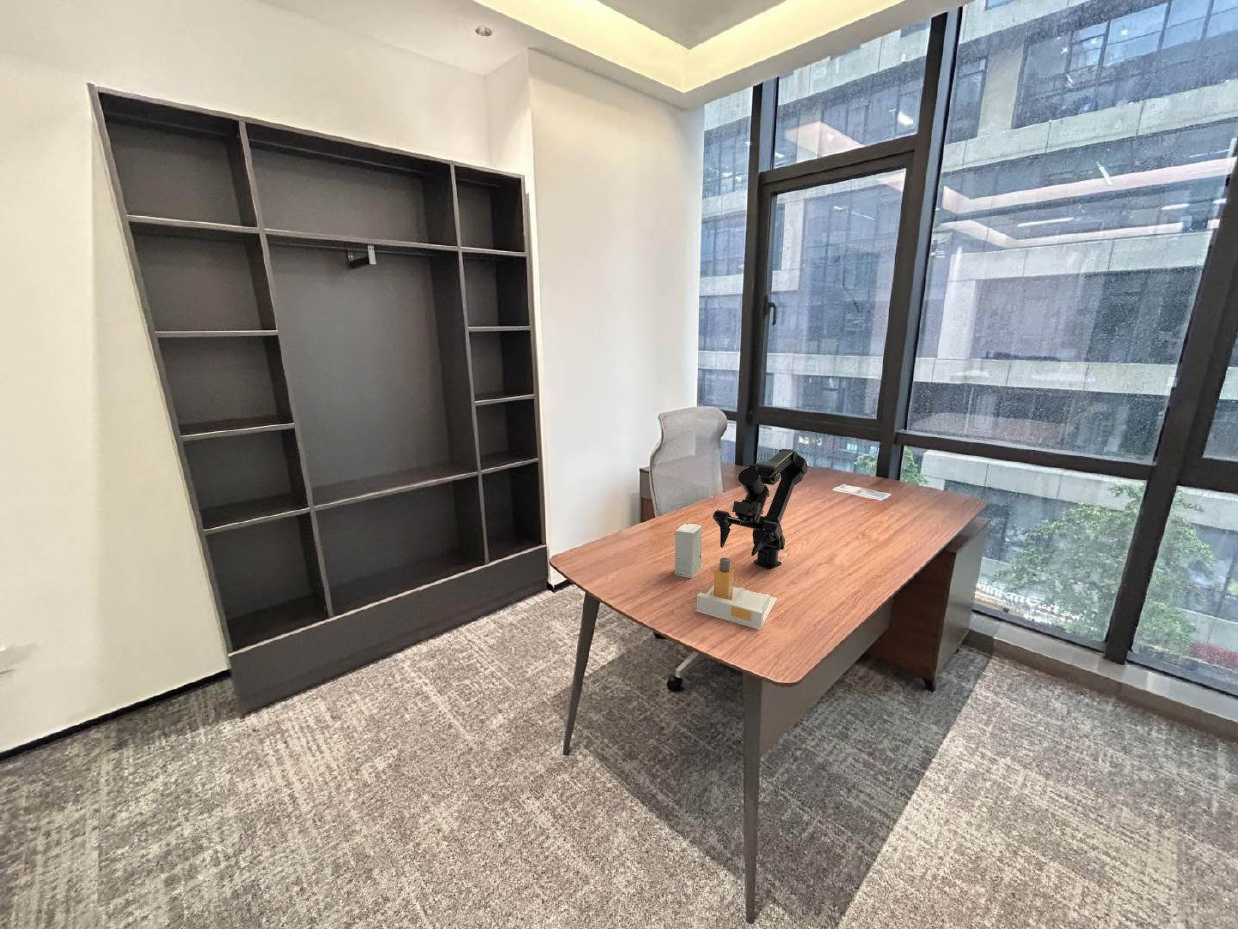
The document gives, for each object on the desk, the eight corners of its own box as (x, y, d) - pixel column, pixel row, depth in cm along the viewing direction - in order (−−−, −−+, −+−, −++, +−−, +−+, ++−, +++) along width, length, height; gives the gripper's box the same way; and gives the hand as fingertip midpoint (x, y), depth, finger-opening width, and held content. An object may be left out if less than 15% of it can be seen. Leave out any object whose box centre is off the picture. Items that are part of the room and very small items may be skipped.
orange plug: (718, 599, 138) (720, 555, 135) (732, 602, 136) (734, 558, 133) (712, 605, 134) (715, 560, 131) (727, 609, 132) (729, 564, 129)
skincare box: (691, 580, 150) (693, 534, 146) (673, 575, 153) (674, 530, 149) (701, 569, 157) (703, 524, 153) (683, 565, 160) (684, 521, 156)
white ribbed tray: (718, 584, 147) (719, 570, 146) (777, 599, 138) (778, 584, 137) (695, 612, 132) (695, 597, 131) (759, 631, 123) (760, 615, 122)
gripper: (716, 483, 144) (696, 531, 138) (780, 495, 132) (761, 548, 127) (727, 501, 152) (709, 547, 146) (788, 514, 141) (771, 564, 135)
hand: (736, 551), depth 138 cm, fingers open, 9 cm apart
